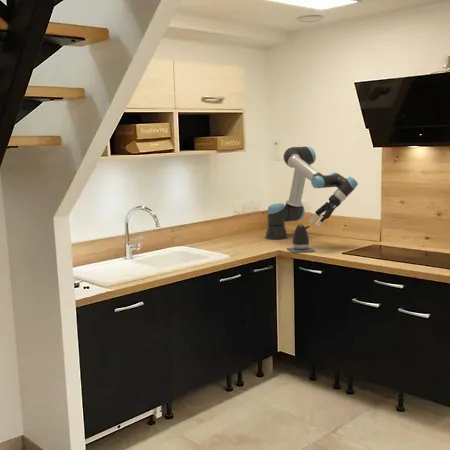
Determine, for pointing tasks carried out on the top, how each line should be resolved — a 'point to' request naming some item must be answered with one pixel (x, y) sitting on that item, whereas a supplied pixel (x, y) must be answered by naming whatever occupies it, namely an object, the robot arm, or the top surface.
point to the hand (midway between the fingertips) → (313, 223)
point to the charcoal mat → (300, 250)
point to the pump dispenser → (300, 237)
